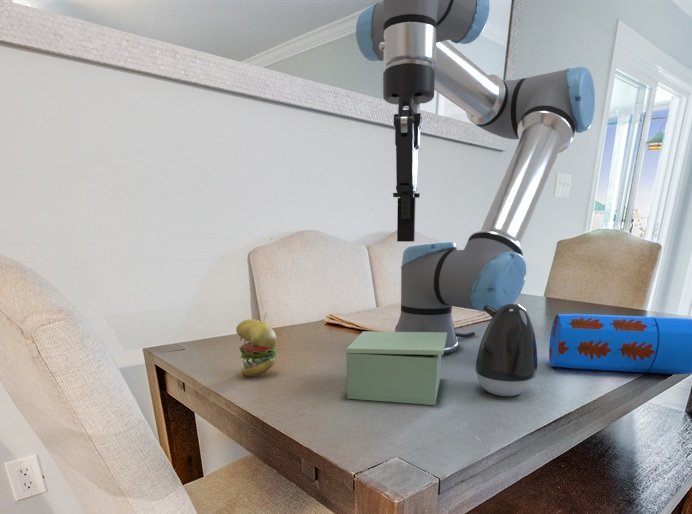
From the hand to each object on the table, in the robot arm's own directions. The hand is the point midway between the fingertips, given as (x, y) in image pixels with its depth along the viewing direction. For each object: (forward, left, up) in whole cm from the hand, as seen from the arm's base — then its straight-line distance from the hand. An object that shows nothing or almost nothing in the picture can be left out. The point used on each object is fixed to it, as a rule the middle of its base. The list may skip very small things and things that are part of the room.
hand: (405, 241), depth 75 cm
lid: (+2, +2, -16) cm, 17 cm away
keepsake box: (+3, +2, -25) cm, 25 cm away
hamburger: (+20, -19, -25) cm, 37 cm away
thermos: (-32, +8, -19) cm, 38 cm away
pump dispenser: (-12, +13, -25) cm, 31 cm away
